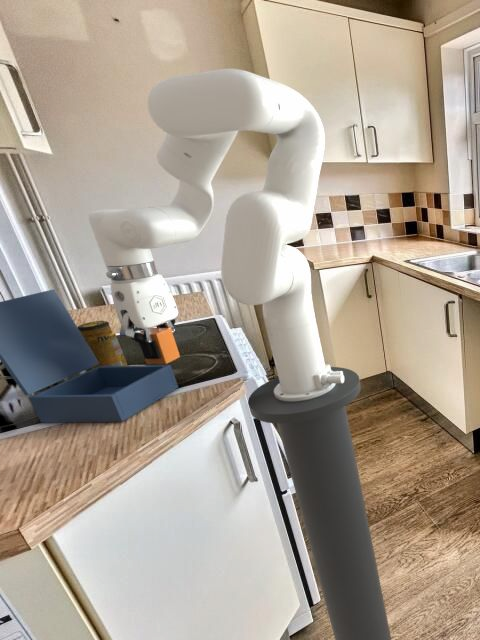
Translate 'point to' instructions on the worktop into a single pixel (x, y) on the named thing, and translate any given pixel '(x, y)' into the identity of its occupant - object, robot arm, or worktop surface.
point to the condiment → (103, 343)
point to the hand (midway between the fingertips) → (161, 353)
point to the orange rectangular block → (164, 346)
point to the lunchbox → (104, 394)
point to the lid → (41, 341)
